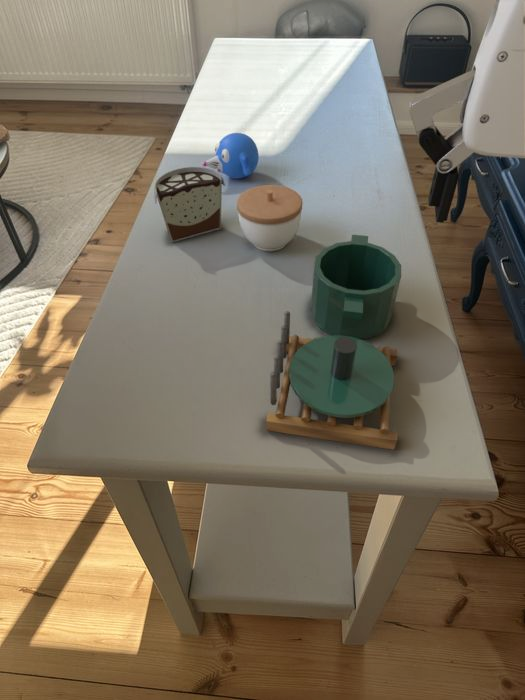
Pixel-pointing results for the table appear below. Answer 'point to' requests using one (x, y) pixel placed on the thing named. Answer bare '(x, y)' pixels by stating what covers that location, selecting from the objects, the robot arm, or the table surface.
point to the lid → (341, 376)
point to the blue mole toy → (235, 156)
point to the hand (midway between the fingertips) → (503, 217)
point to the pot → (354, 288)
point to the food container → (190, 201)
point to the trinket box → (269, 216)
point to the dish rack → (305, 424)
